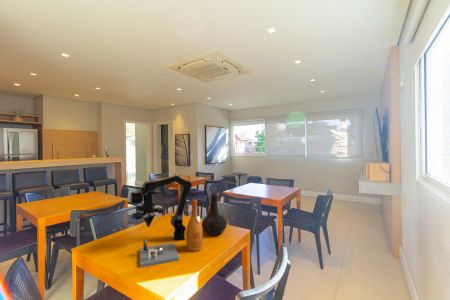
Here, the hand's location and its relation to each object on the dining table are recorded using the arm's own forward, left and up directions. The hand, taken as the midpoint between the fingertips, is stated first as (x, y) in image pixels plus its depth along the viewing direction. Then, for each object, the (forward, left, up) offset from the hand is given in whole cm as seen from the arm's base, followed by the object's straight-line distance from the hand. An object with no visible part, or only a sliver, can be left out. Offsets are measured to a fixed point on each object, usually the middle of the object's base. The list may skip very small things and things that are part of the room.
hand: (148, 226), depth 140 cm
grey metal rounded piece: (-1, +15, -10) cm, 19 cm away
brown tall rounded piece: (-26, +14, -12) cm, 32 cm away
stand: (-5, +15, -12) cm, 20 cm away
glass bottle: (-45, -5, -12) cm, 47 cm away
